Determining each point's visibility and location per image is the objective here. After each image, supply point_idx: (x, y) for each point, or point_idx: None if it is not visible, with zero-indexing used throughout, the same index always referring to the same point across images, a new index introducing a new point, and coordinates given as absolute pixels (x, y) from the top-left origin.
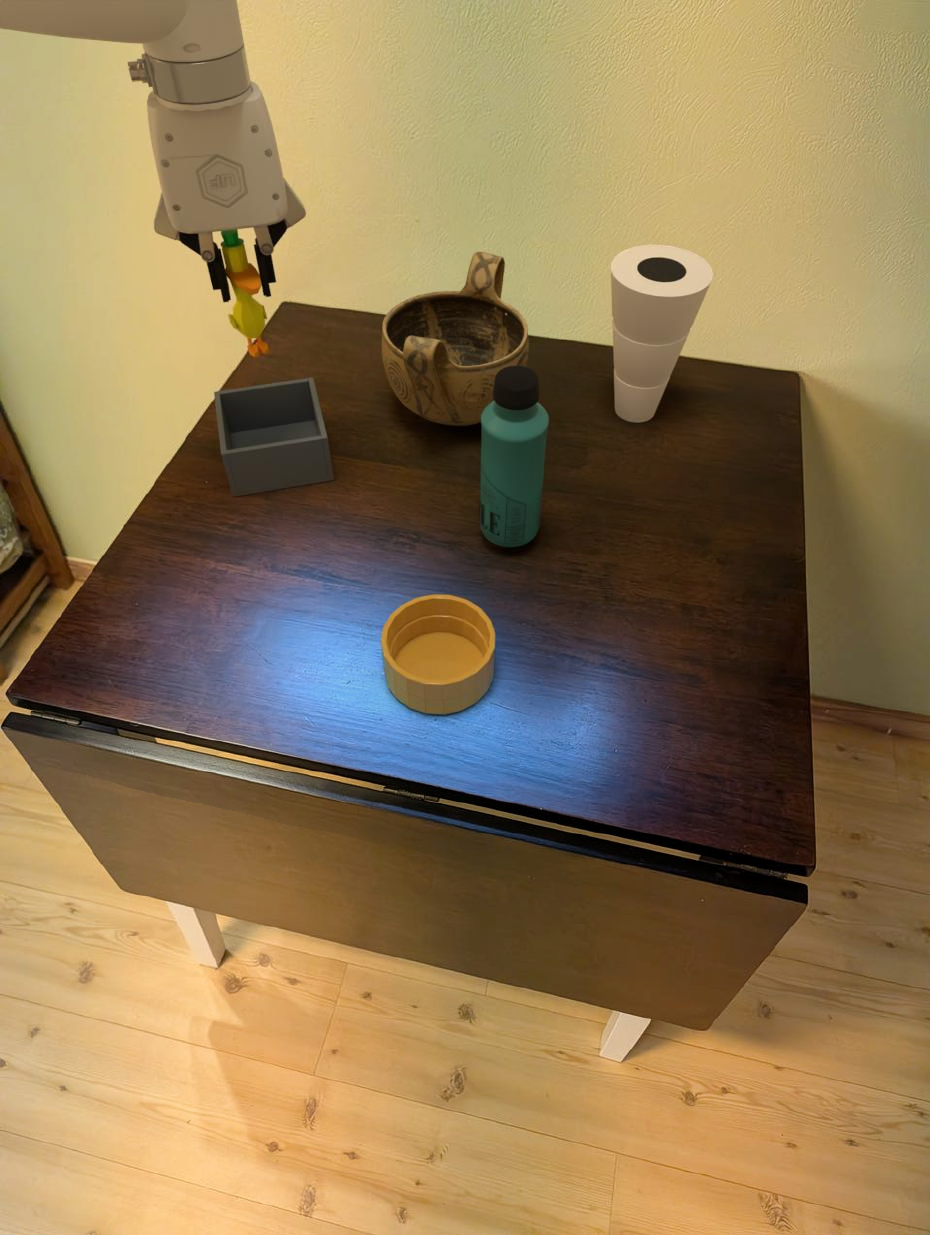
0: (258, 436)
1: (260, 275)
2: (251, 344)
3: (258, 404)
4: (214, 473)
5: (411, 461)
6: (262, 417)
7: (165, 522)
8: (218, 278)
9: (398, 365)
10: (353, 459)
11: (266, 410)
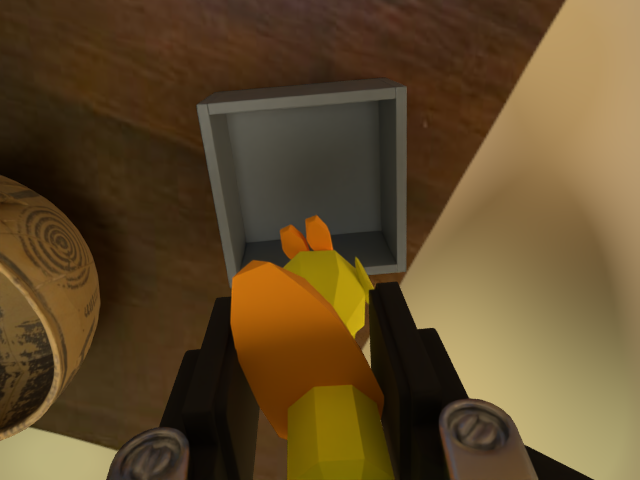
0: (337, 216)
1: (231, 350)
2: (322, 250)
3: None
4: (411, 144)
5: (79, 121)
6: None
7: (500, 31)
8: (417, 338)
9: (26, 252)
10: (182, 142)
11: None
